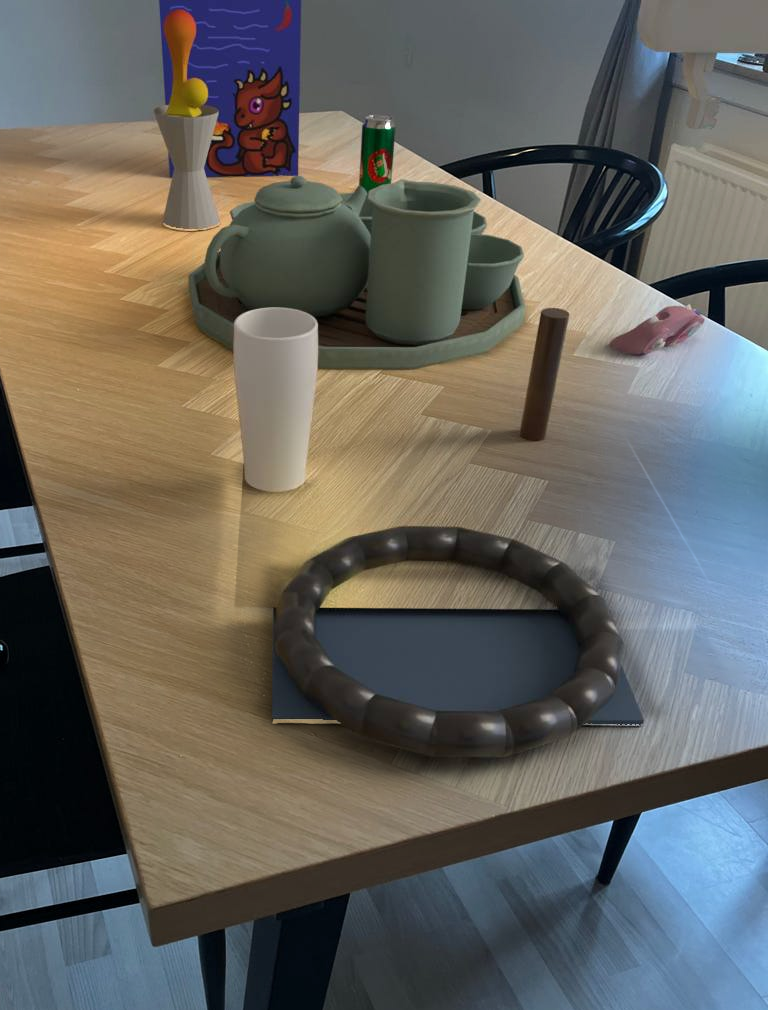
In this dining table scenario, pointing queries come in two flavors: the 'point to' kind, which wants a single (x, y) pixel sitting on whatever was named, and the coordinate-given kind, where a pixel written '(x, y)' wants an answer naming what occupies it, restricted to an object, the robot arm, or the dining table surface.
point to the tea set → (365, 272)
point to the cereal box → (245, 81)
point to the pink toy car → (660, 331)
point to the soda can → (376, 151)
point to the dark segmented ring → (449, 728)
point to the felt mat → (449, 659)
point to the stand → (543, 373)
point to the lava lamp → (187, 133)
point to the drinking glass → (275, 394)
